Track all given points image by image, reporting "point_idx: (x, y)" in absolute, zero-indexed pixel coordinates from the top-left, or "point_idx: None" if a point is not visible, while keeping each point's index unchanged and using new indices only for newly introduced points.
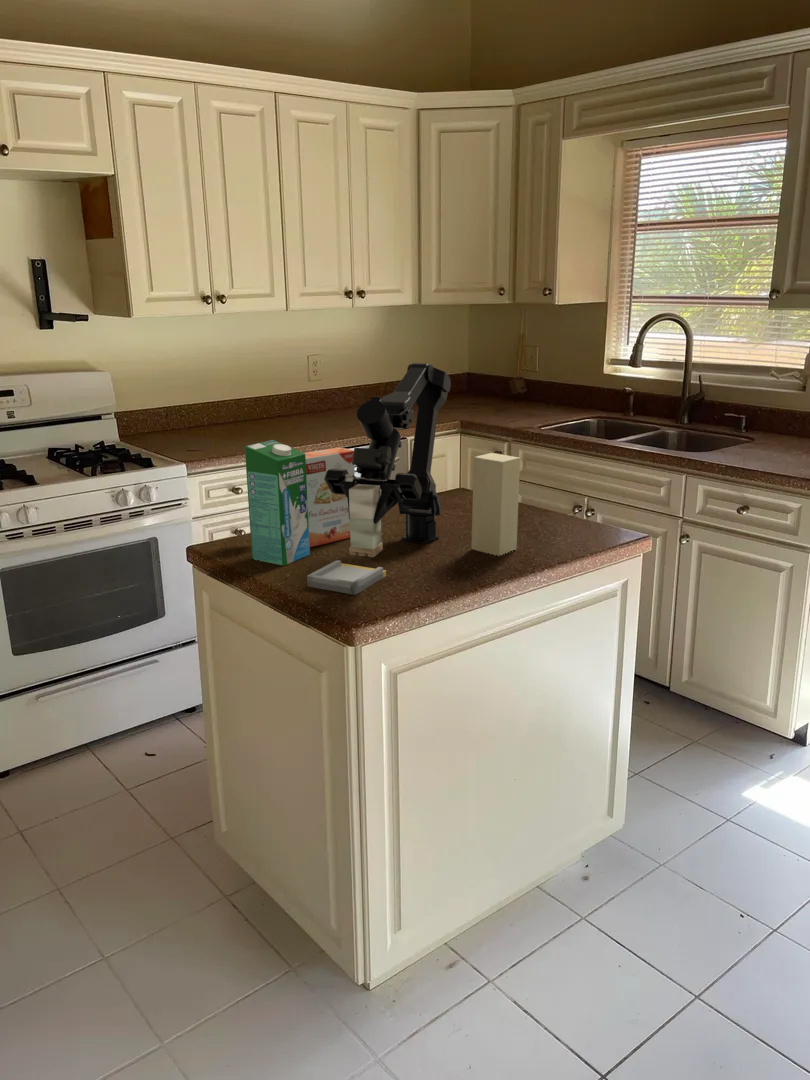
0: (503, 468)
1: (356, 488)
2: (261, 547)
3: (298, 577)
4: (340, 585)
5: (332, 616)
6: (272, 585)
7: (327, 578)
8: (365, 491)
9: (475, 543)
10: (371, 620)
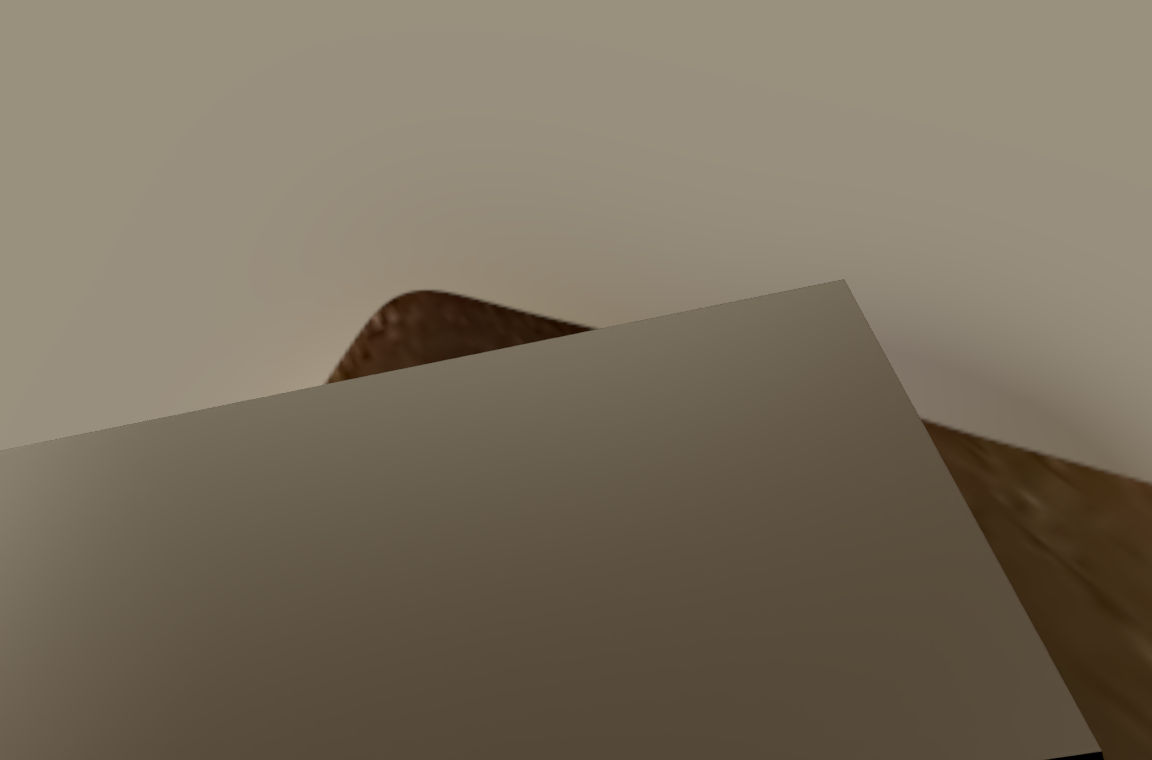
0: None
1: (682, 529)
2: None
3: (1066, 656)
4: None
5: (522, 319)
6: (1044, 468)
7: None
8: (189, 433)
9: None
10: (361, 358)
